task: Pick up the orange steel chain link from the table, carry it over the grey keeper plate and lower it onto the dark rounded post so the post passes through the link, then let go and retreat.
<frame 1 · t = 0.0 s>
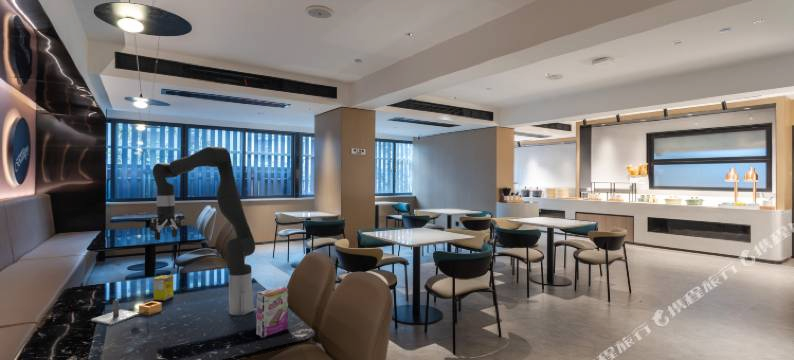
hand: (166, 238, 186), 29 cm above the table, tool pointing down, fingers open, 8 cm apart
supplement box: (163, 299, 186), on the table
candy bar box: (272, 332, 149), on the table
keeper: (116, 317, 162), on the table
link: (150, 312, 169), on the table
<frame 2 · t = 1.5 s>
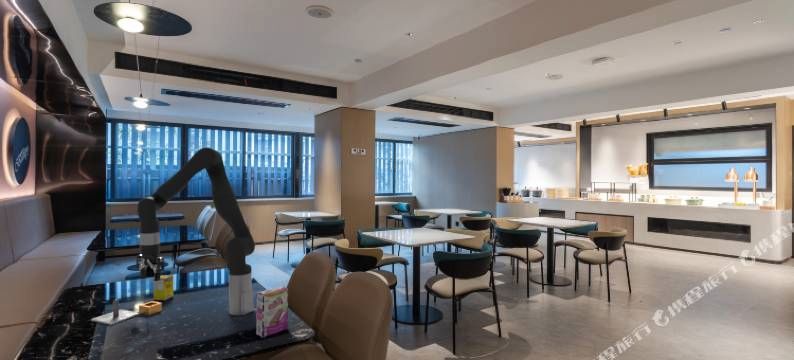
hand: (150, 279, 169), 14 cm above the table, tool pointing down, fingers open, 8 cm apart
nothing on the table moved.
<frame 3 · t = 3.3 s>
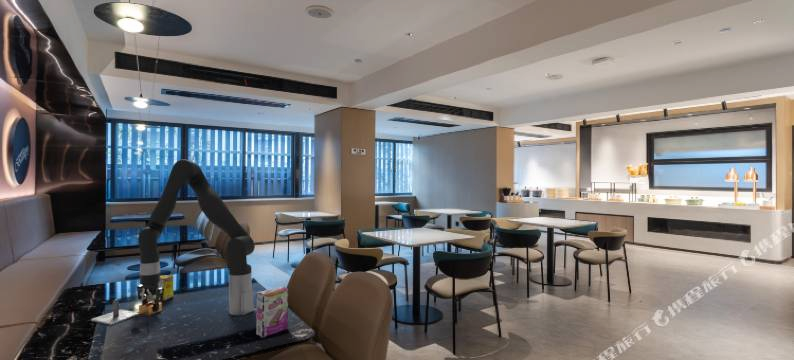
hand: (150, 310, 169), 1 cm above the table, tool pointing down, fingers closed on link, 6 cm apart
link: (150, 312, 169), on the table, touching gripper
everything else where it was.
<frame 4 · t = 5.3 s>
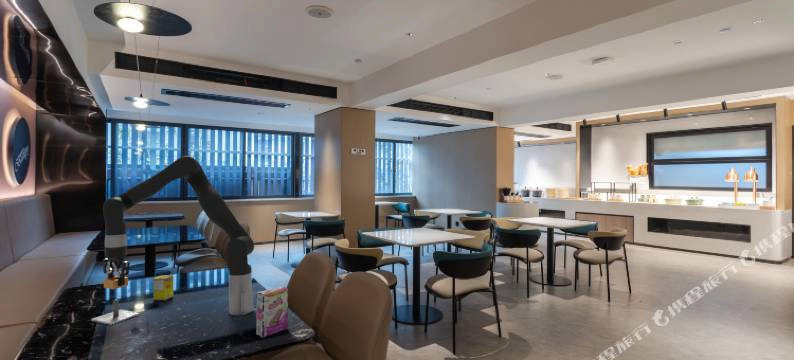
hand: (116, 284, 163), 14 cm above the table, tool pointing down, fingers closed on link, 6 cm apart
link: (116, 286, 163), point 13 cm above the table, touching gripper
everything else where it was.
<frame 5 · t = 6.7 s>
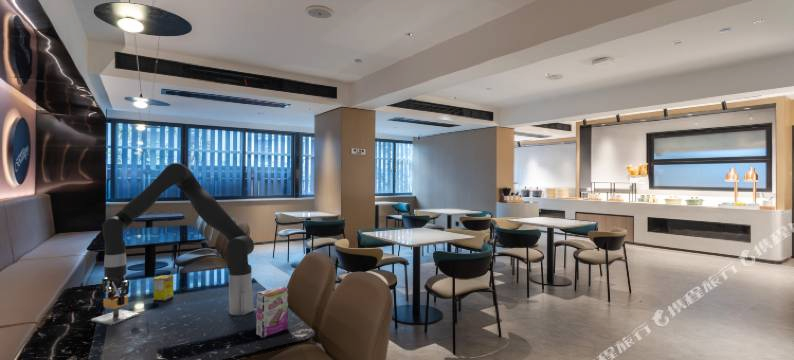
hand: (115, 303, 162), 6 cm above the table, tool pointing down, fingers closed on link, 6 cm apart
link: (115, 305, 162), point 5 cm above the table, touching gripper
everything else where it was.
when the fingers open (4 cm above the table, at t = 7.6 s): link drops 3 cm, resting on keeper.
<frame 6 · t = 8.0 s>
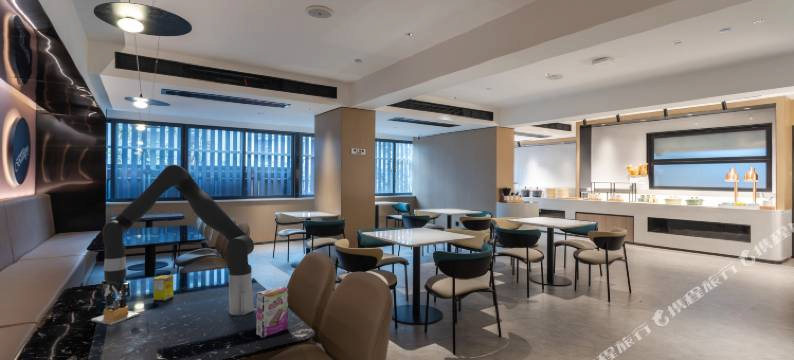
hand: (115, 306, 162), 5 cm above the table, tool pointing down, fingers open, 8 cm apart
link: (116, 316, 162), point 1 cm above the table, touching keeper
everything else where it was.
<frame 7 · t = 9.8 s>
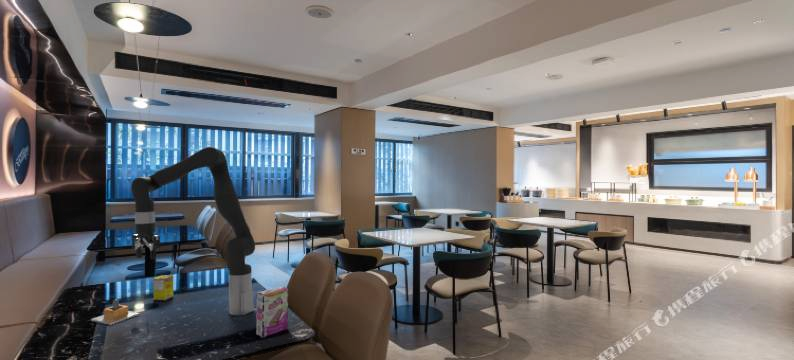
hand: (146, 258, 172), 23 cm above the table, tool pointing down, fingers open, 8 cm apart
nothing on the table moved.
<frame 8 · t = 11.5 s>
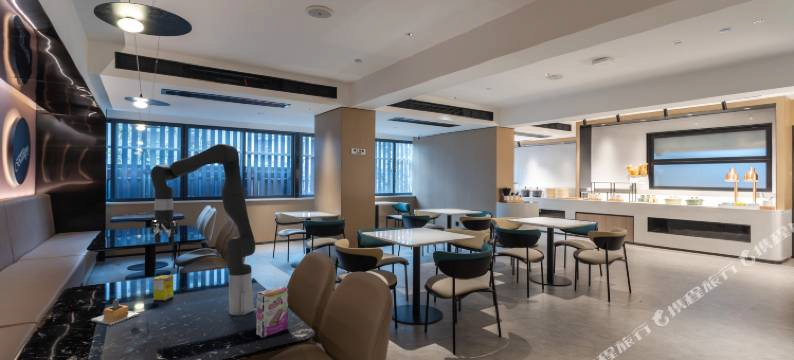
hand: (164, 243, 179), 28 cm above the table, tool pointing down, fingers open, 8 cm apart
nothing on the table moved.
at the end: link 0.1 cm off-centre on the keeper, point 0.8 cm above the keeper's base; the gripper is holding nothing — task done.
